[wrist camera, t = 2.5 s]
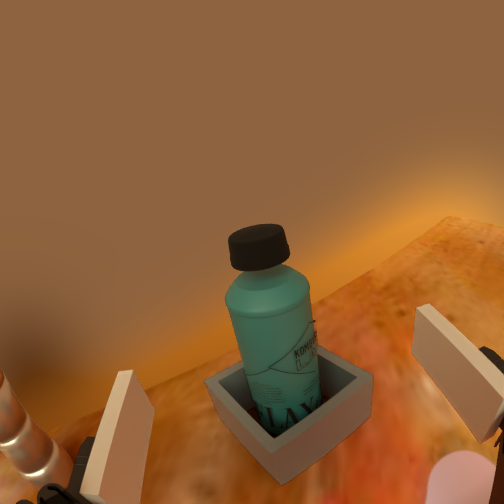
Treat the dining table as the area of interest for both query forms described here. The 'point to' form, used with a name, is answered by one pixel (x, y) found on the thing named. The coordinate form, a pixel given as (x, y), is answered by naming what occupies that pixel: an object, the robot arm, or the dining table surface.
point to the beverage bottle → (273, 328)
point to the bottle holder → (307, 430)
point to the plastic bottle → (30, 444)
